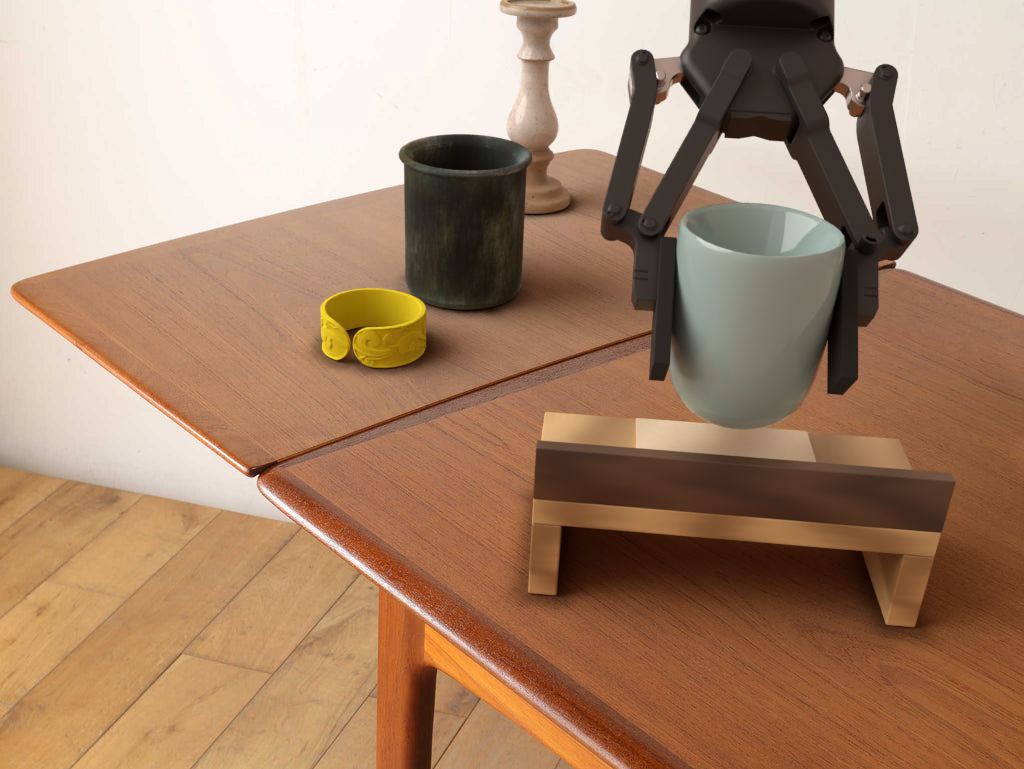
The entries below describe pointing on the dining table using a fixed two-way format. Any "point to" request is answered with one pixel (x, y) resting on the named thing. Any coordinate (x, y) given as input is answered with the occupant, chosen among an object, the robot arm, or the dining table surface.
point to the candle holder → (537, 99)
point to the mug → (464, 219)
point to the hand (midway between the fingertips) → (750, 379)
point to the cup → (751, 310)
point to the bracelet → (374, 345)
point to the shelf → (741, 494)
